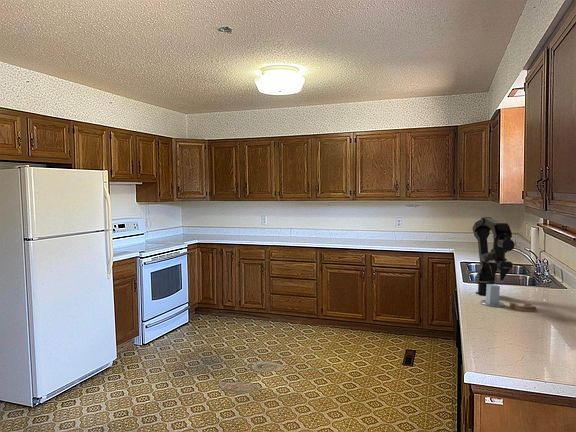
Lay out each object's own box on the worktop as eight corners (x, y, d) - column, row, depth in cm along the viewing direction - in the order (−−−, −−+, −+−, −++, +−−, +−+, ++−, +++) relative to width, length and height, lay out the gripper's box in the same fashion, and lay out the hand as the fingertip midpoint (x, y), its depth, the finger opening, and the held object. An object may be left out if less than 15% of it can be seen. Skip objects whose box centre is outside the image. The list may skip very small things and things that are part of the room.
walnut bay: (509, 306, 220) (509, 302, 220) (526, 306, 220) (527, 302, 220) (518, 310, 212) (518, 306, 212) (536, 311, 212) (536, 307, 212)
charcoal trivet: (476, 300, 228) (476, 299, 228) (497, 301, 229) (498, 300, 228) (486, 307, 218) (486, 305, 217) (508, 307, 218) (508, 306, 218)
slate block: (485, 301, 225) (486, 284, 225) (494, 301, 225) (495, 284, 225) (489, 304, 221) (490, 286, 220) (498, 304, 221) (499, 286, 220)
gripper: (475, 244, 234) (473, 273, 235) (491, 250, 215) (489, 282, 216) (497, 244, 233) (495, 274, 235) (514, 251, 215) (512, 282, 216)
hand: (497, 278), depth 226 cm, fingers open, 9 cm apart
